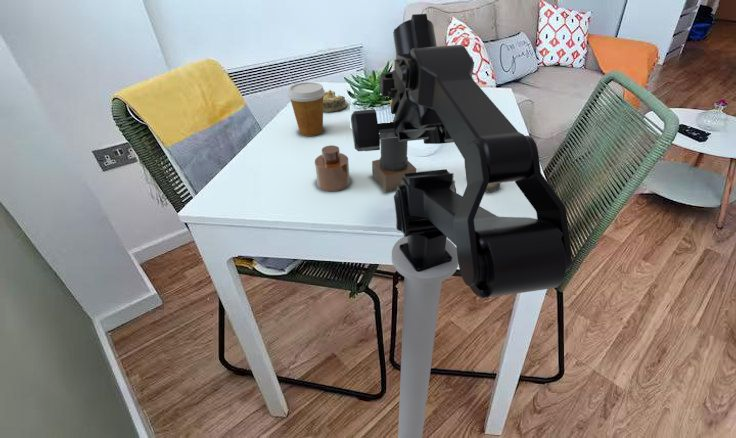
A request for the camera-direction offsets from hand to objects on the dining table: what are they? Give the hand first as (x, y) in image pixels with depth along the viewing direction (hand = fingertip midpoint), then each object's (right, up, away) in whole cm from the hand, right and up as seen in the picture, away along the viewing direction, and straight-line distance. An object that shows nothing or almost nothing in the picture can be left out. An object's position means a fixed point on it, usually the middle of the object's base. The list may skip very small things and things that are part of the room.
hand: (400, 143), depth 70 cm
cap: (-1, -3, +9) cm, 10 cm away
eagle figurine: (+18, -6, +11) cm, 22 cm away
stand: (-1, -6, +12) cm, 13 cm away
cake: (-17, +21, +48) cm, 55 cm away
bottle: (-14, -6, +12) cm, 19 cm away
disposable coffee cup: (-22, +10, +33) cm, 41 cm away
